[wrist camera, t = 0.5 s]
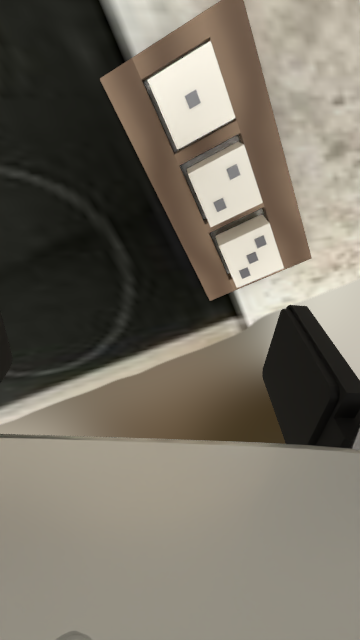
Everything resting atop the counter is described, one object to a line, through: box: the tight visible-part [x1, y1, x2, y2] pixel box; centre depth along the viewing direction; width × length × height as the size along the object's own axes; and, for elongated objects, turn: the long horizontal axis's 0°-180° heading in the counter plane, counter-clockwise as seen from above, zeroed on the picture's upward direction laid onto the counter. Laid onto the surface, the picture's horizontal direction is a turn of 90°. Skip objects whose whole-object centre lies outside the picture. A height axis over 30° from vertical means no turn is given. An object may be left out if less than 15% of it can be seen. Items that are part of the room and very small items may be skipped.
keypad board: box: [100, 0, 311, 301], centre depth 30 cm, size 12×23×2 cm, turn 26°
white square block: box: [215, 214, 284, 288], centre depth 32 cm, size 5×5×3 cm
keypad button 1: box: [147, 41, 235, 150], centre depth 25 cm, size 5×5×3 cm
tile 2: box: [187, 142, 263, 227], centre depth 28 cm, size 5×5×3 cm
